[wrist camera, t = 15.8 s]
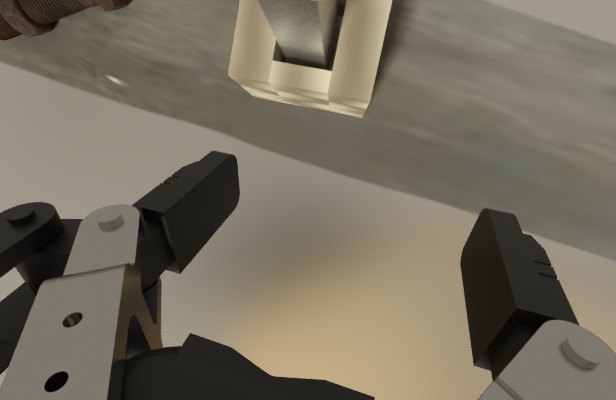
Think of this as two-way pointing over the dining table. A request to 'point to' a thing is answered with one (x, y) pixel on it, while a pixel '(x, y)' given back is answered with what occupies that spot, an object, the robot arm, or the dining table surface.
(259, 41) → the open beige box
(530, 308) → the robot arm
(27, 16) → the bolt
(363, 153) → the dining table surface
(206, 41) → the dining table surface
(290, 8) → the tall grey square pillar
